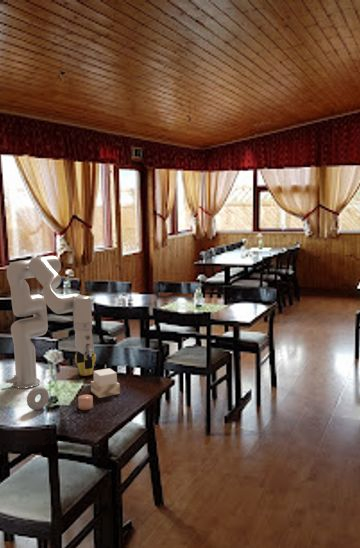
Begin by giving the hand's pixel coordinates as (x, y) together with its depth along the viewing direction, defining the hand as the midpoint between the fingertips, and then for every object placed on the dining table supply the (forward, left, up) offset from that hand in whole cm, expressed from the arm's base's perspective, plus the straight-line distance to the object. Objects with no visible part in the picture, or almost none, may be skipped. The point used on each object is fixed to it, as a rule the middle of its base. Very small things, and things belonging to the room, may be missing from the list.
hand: (84, 365), depth 231 cm
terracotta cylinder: (0, 0, -18) cm, 18 cm away
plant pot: (+16, +42, -19) cm, 49 cm away
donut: (-18, +8, -19) cm, 27 cm away
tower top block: (+14, +12, -14) cm, 23 cm away
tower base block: (+14, +12, -19) cm, 26 cm away
